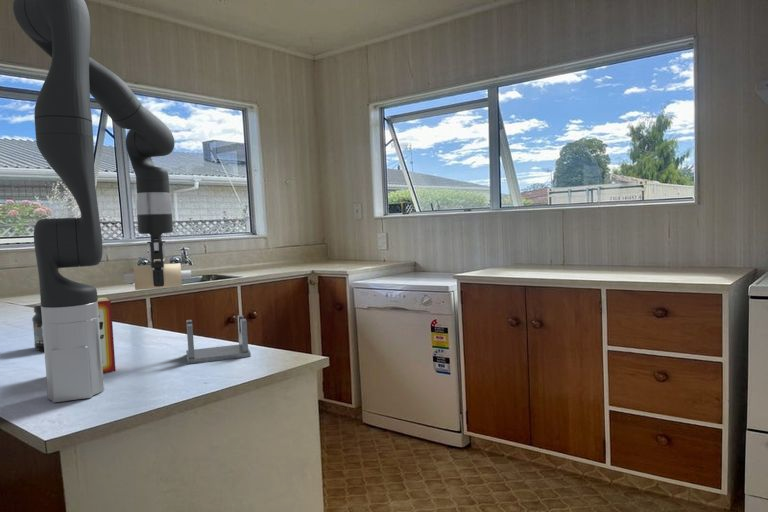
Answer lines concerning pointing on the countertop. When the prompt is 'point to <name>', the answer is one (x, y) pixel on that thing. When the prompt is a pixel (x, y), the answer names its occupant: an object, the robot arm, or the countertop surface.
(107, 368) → the baking soda box
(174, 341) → the countertop surface
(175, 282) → the paper roll
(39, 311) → the supplement container
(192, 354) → the roll holder
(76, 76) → the robot arm
